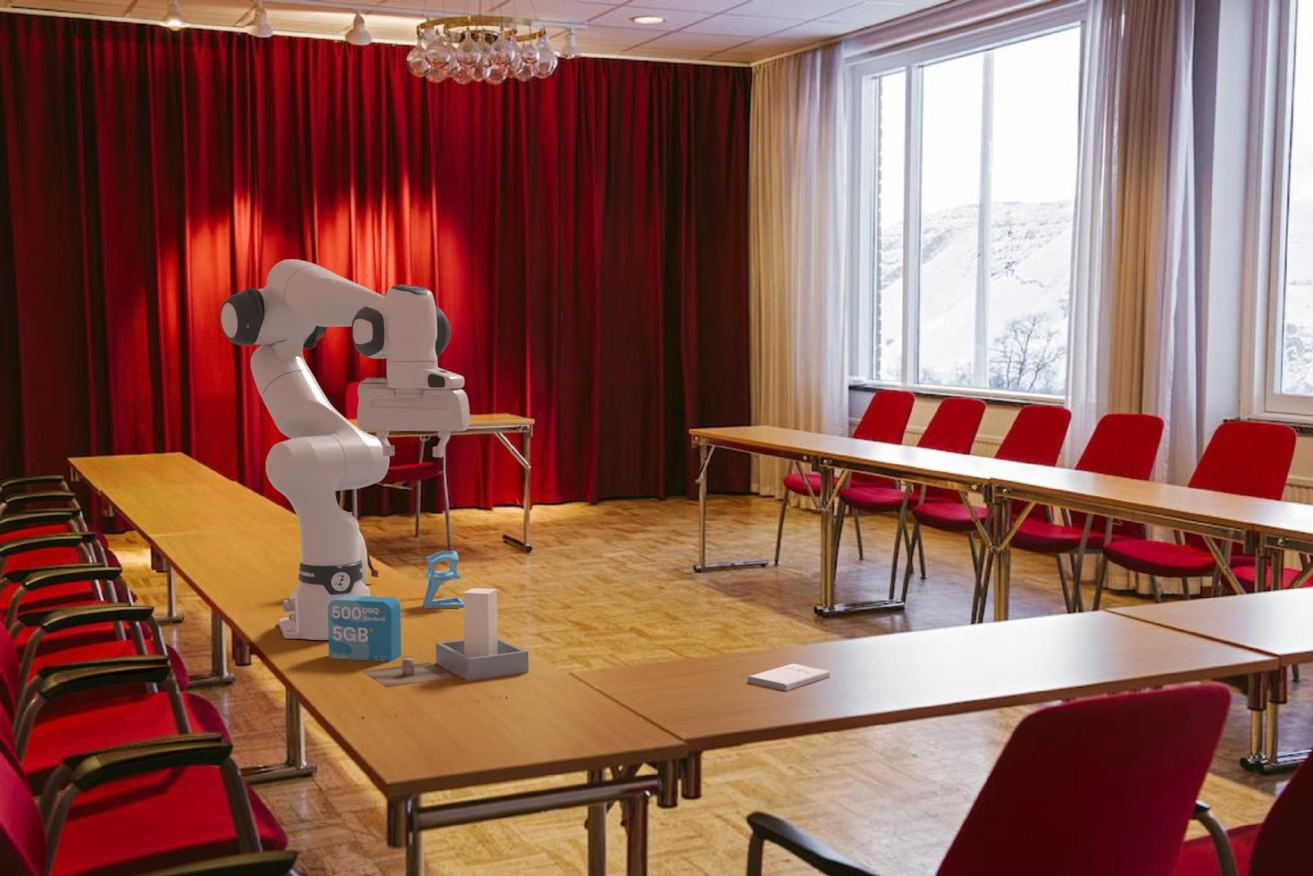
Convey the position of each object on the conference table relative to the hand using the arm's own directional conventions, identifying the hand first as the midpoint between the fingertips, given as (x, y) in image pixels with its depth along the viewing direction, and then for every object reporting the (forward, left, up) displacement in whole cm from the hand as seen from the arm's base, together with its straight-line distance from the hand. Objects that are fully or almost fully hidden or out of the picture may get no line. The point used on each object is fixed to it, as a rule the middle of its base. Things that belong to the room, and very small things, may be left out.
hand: (413, 456), depth 238 cm
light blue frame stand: (-46, +24, -37) cm, 64 cm away
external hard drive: (+43, +50, -38) cm, 76 cm away
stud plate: (+12, -6, -37) cm, 39 cm away
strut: (+14, +6, -36) cm, 39 cm away
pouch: (-72, +11, -37) cm, 82 cm away
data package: (-4, -8, -37) cm, 38 cm away
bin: (+14, +6, -37) cm, 40 cm away
